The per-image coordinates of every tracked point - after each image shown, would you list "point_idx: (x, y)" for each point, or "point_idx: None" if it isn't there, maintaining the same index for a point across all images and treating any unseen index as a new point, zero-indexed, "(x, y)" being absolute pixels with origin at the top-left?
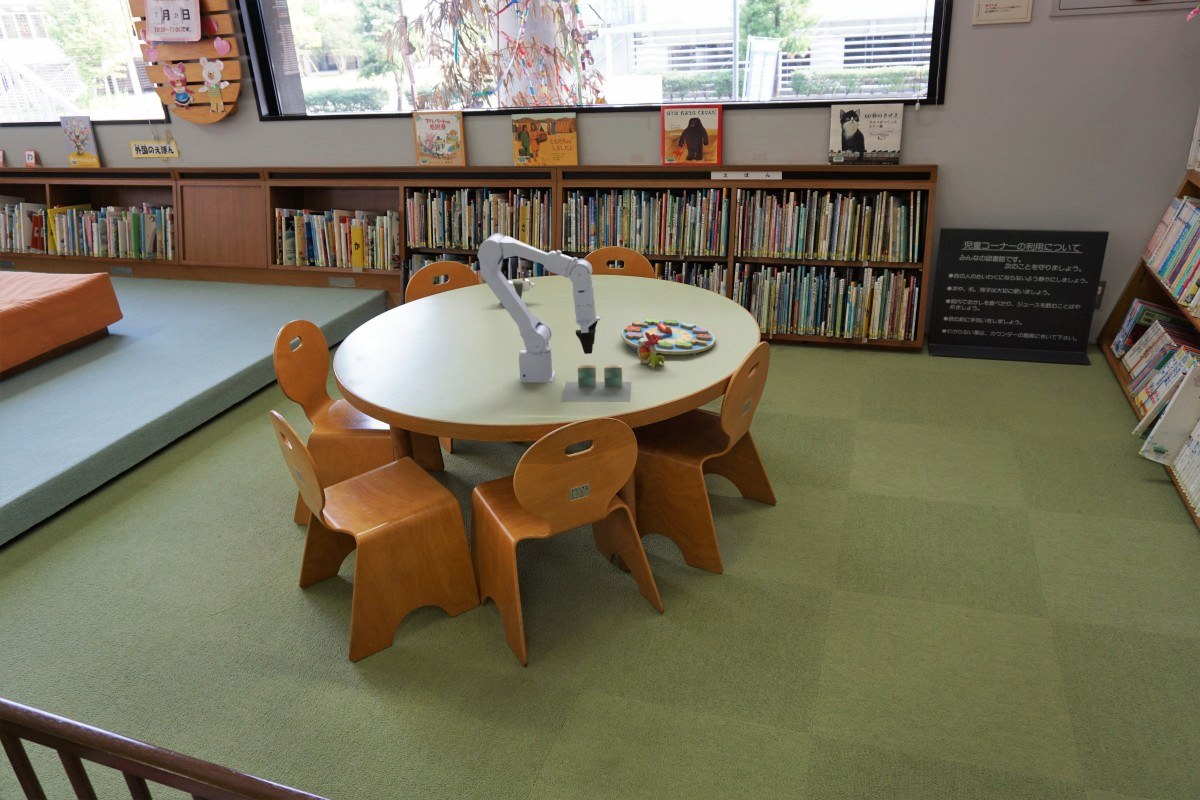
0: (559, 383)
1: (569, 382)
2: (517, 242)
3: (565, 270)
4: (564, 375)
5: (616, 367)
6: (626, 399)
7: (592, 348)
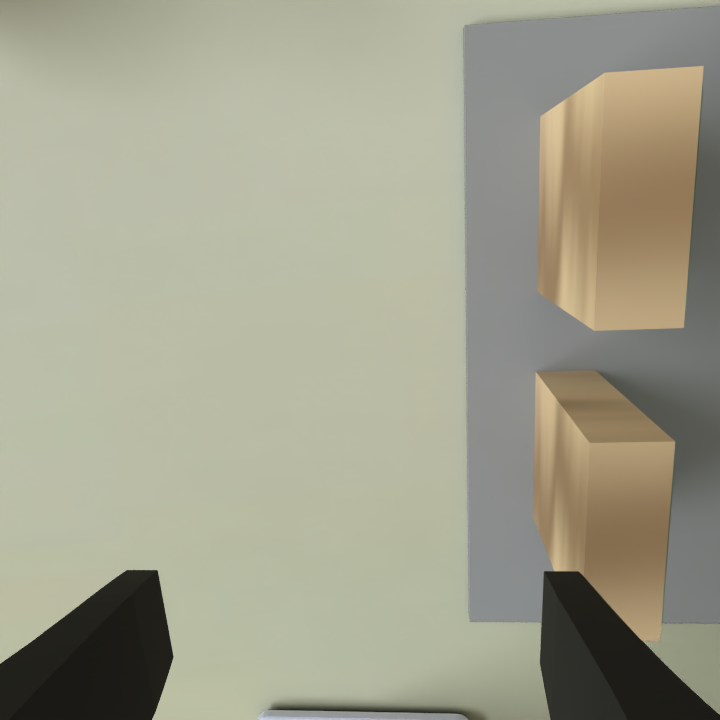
0: (470, 658)
1: (481, 594)
2: None
3: None
4: (298, 638)
5: (696, 150)
6: None
7: (609, 613)
